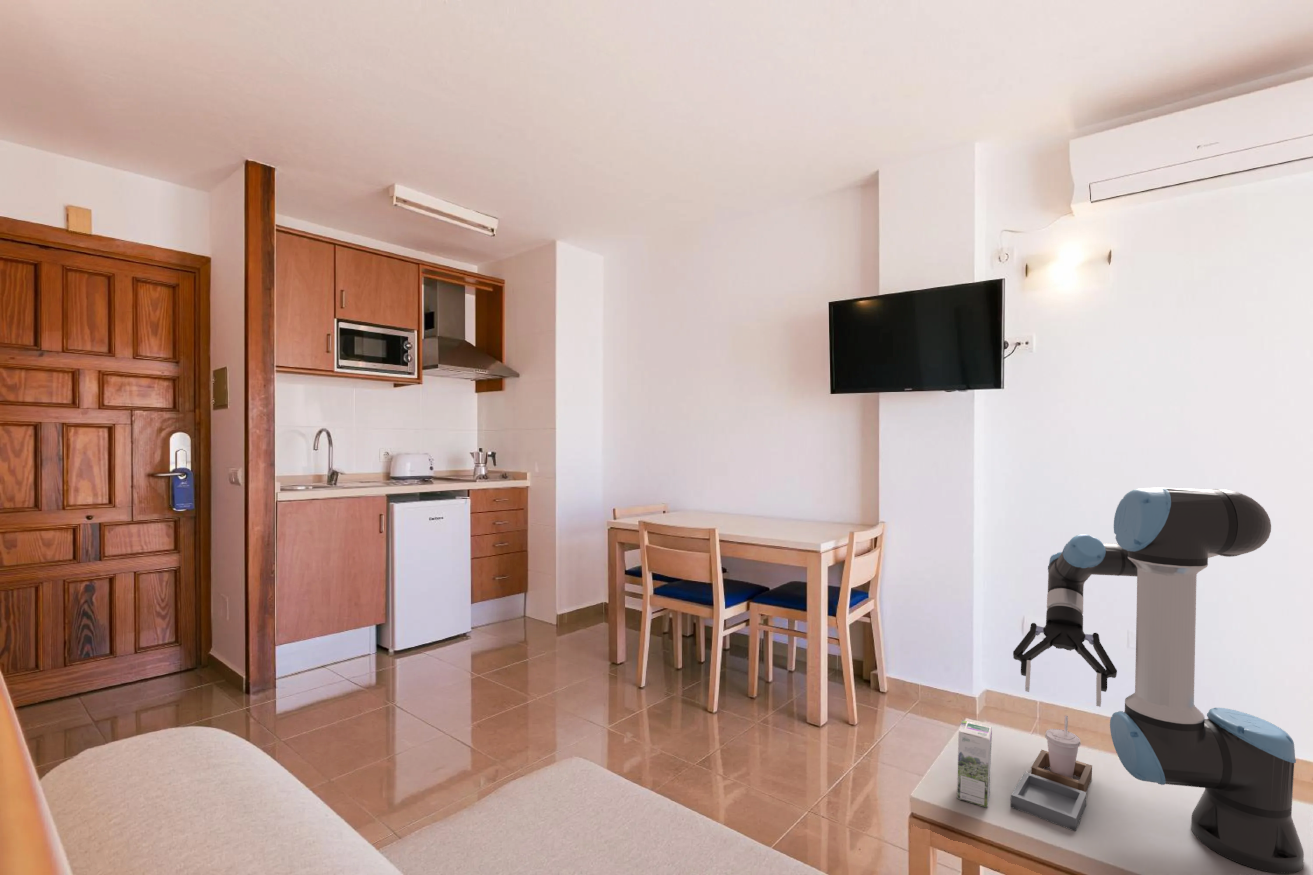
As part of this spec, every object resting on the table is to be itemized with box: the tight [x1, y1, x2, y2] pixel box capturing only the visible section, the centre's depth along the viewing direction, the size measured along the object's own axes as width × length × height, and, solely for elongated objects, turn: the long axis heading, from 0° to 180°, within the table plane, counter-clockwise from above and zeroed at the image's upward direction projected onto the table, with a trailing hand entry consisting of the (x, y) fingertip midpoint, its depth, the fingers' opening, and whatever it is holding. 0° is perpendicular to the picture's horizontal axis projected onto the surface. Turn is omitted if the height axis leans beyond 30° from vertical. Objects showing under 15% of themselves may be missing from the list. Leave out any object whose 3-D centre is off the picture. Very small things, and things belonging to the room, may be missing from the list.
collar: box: [1030, 749, 1093, 792], centre depth 138 cm, size 10×10×3 cm
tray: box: [1010, 771, 1088, 832], centre depth 129 cm, size 11×11×2 cm
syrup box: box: [956, 719, 993, 808], centre depth 132 cm, size 6×6×14 cm
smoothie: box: [1044, 715, 1081, 779], centre depth 138 cm, size 6×6×14 cm
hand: (1062, 696), depth 145 cm, fingers open, 13 cm apart
